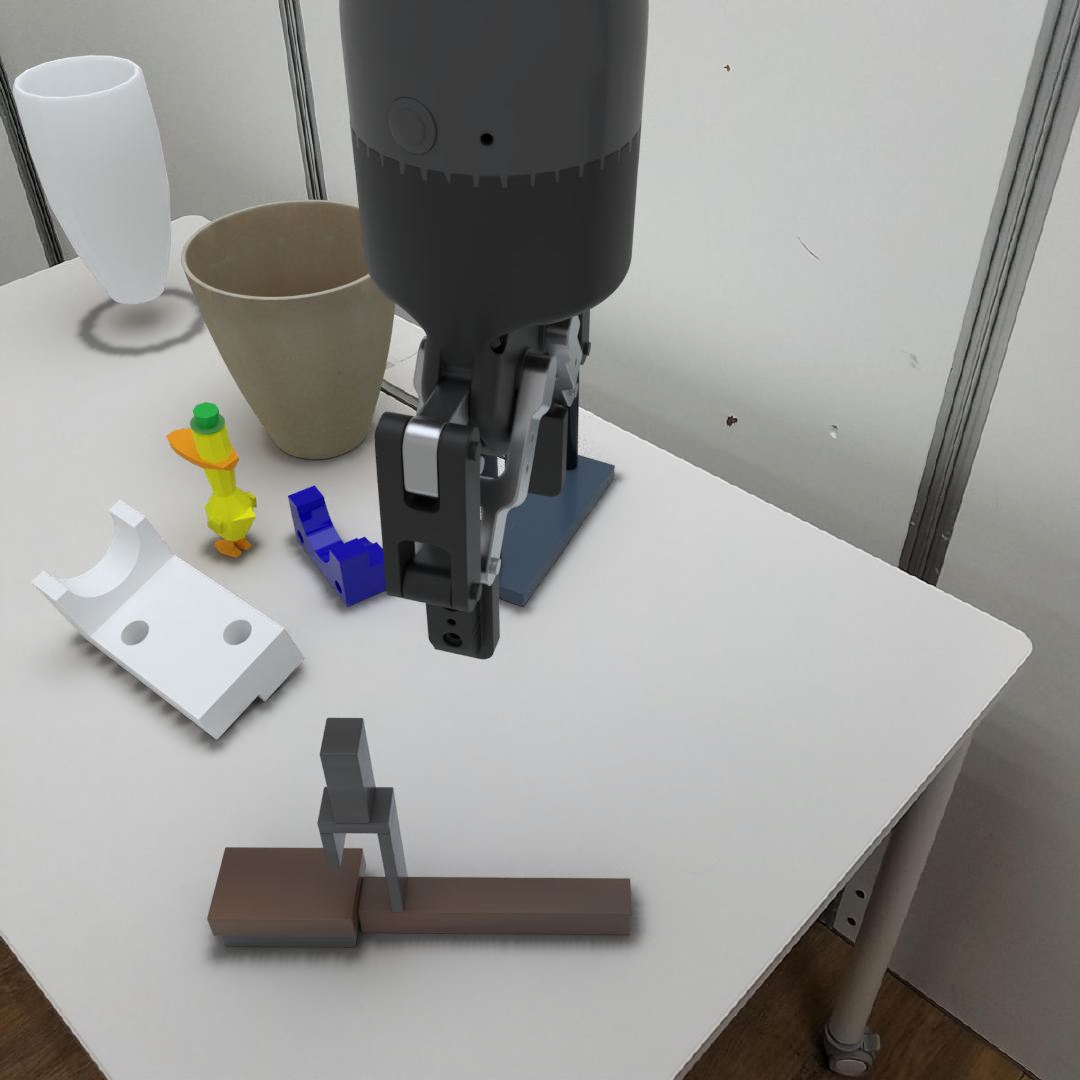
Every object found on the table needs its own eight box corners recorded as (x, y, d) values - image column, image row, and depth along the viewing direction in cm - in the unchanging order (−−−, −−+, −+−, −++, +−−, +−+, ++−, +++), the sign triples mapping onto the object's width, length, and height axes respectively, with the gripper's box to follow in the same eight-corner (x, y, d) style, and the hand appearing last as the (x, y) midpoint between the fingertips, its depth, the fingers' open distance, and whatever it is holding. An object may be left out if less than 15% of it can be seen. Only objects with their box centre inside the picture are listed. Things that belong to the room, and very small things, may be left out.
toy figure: (179, 542, 78) (136, 401, 70) (216, 515, 80) (178, 374, 72) (249, 578, 75) (213, 435, 67) (285, 548, 78) (255, 406, 70)
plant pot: (424, 479, 83) (405, 288, 72) (221, 500, 82) (171, 308, 71) (411, 370, 94) (392, 189, 83) (231, 386, 92) (189, 205, 82)
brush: (631, 953, 55) (647, 776, 45) (219, 950, 56) (147, 773, 46) (627, 881, 58) (642, 700, 48) (236, 878, 58) (172, 698, 49)
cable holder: (394, 586, 75) (388, 541, 72) (347, 606, 73) (339, 562, 71) (342, 521, 80) (334, 477, 77) (296, 539, 78) (287, 495, 76)
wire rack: (614, 477, 83) (622, 304, 73) (523, 607, 73) (518, 426, 63) (542, 456, 85) (540, 284, 75) (443, 579, 75) (427, 400, 65)
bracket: (92, 646, 72) (30, 582, 66) (172, 568, 75) (119, 499, 69) (223, 746, 66) (167, 685, 60) (304, 658, 69) (259, 591, 63)
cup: (226, 300, 103) (172, 59, 89) (164, 359, 96) (95, 107, 81) (128, 284, 105) (61, 47, 91) (61, 340, 98) (-24, 92, 84)
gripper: (568, 249, 23) (553, 741, 34) (688, 27, 33) (646, 460, 44) (233, 201, 24) (323, 688, 35) (447, 3, 34) (465, 428, 45)
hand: (502, 561), depth 39 cm, fingers open, 8 cm apart
